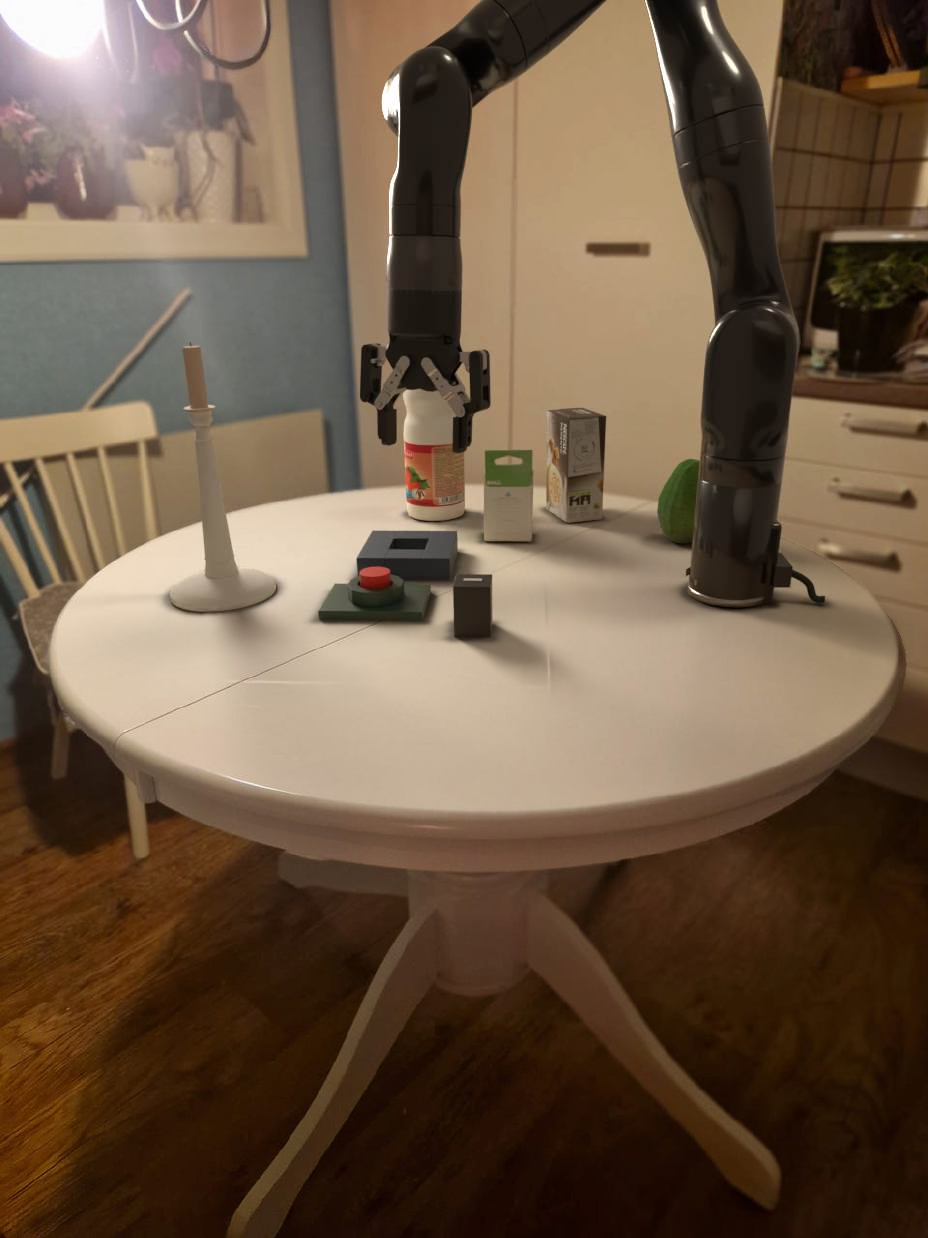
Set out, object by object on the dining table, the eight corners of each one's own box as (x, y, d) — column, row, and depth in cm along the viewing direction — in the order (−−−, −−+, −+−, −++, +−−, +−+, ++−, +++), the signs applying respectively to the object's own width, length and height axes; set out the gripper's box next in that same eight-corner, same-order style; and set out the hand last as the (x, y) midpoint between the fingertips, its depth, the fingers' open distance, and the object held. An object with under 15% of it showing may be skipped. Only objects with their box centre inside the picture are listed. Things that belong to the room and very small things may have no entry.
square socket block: (457, 551, 122) (457, 530, 121) (450, 580, 111) (449, 558, 110) (373, 550, 123) (372, 530, 121) (357, 579, 112) (356, 557, 110)
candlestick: (223, 619, 100) (186, 349, 88) (148, 600, 106) (104, 345, 95) (297, 585, 110) (273, 338, 98) (225, 569, 116) (194, 335, 105)
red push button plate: (430, 593, 107) (430, 570, 106) (422, 621, 98) (421, 597, 97) (335, 592, 108) (333, 569, 106) (318, 620, 99) (316, 596, 98)
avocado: (722, 545, 122) (731, 460, 118) (678, 553, 119) (685, 467, 114) (686, 530, 129) (693, 450, 124) (643, 538, 126) (648, 456, 121)
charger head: (492, 624, 97) (492, 573, 95) (490, 638, 94) (490, 586, 91) (457, 623, 98) (455, 573, 95) (454, 638, 94) (452, 585, 92)
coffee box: (604, 519, 135) (608, 415, 129) (566, 523, 133) (569, 418, 127) (579, 505, 143) (582, 406, 137) (543, 508, 141) (545, 409, 135)
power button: (393, 580, 104) (392, 566, 103) (388, 591, 100) (387, 576, 100) (363, 580, 104) (362, 566, 103) (357, 590, 100) (356, 576, 100)
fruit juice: (464, 521, 135) (461, 334, 124) (404, 522, 135) (395, 334, 125) (466, 505, 144) (463, 328, 133) (409, 506, 144) (402, 329, 133)
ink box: (532, 534, 128) (533, 444, 123) (531, 542, 125) (533, 450, 119) (485, 534, 129) (485, 444, 124) (483, 542, 125) (482, 450, 120)
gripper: (504, 288, 87) (498, 449, 93) (381, 284, 93) (383, 436, 99) (473, 288, 81) (469, 461, 87) (344, 284, 86) (348, 447, 92)
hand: (423, 448), depth 93 cm, fingers open, 8 cm apart
